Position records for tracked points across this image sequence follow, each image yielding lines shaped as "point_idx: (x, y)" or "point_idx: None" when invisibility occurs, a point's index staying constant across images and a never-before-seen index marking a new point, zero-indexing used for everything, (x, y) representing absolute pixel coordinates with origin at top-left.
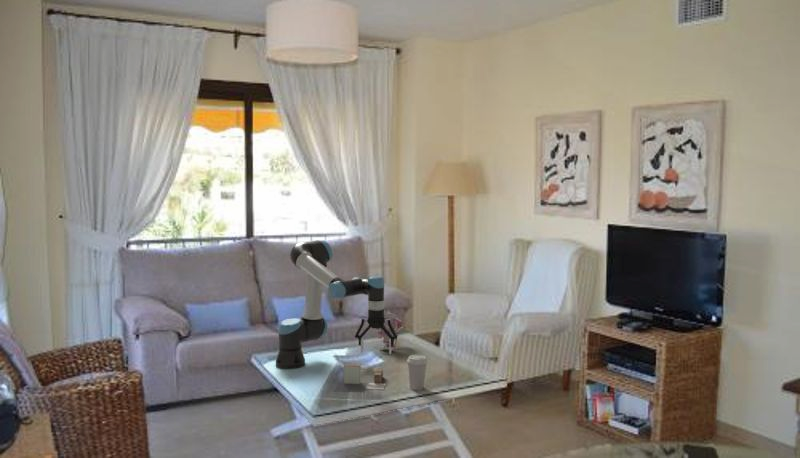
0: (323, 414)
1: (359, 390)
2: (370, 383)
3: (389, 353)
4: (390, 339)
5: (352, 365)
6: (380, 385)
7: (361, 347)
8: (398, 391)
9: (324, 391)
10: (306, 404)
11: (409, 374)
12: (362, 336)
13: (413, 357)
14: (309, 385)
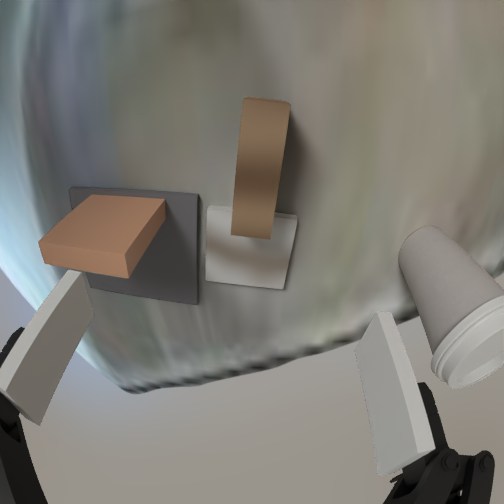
0: (135, 390)
1: (177, 288)
2: (215, 218)
3: (358, 352)
4: (410, 461)
5: (83, 268)
6: (269, 245)
7: (65, 352)
8: (344, 284)
9: None
10: None
11: (418, 306)
12: (28, 454)
13: (476, 356)
14: (9, 221)
